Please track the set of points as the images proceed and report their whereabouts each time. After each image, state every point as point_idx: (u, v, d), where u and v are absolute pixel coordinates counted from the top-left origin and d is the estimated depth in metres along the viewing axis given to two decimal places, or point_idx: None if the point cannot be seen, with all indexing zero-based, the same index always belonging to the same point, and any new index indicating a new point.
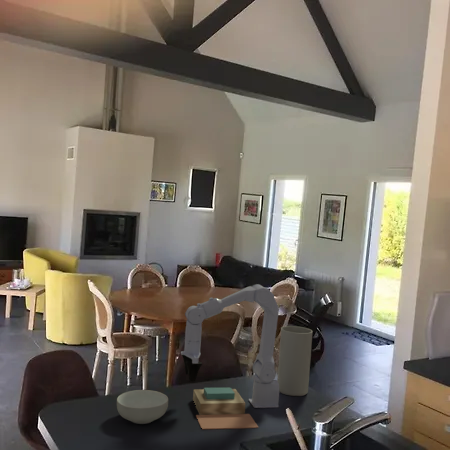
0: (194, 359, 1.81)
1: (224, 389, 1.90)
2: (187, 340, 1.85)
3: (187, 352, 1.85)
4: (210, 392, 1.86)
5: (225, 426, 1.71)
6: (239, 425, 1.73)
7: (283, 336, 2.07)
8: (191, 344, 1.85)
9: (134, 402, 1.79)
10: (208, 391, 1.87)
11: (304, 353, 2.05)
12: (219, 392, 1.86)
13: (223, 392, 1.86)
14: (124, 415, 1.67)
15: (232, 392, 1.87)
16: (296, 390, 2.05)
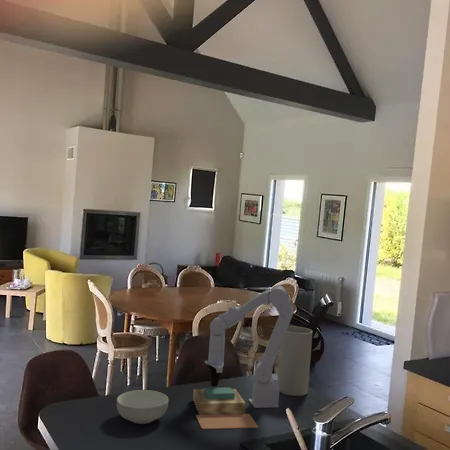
0: (218, 368, 1.89)
1: (224, 389, 1.90)
2: (210, 349, 1.95)
3: (211, 361, 1.94)
4: (210, 392, 1.86)
5: (225, 426, 1.71)
6: (239, 425, 1.73)
7: None
8: (215, 354, 1.93)
9: (134, 402, 1.79)
10: (208, 391, 1.87)
11: (304, 353, 2.05)
12: (219, 392, 1.86)
13: (223, 392, 1.86)
14: (124, 415, 1.67)
15: (232, 392, 1.87)
16: (296, 390, 2.05)
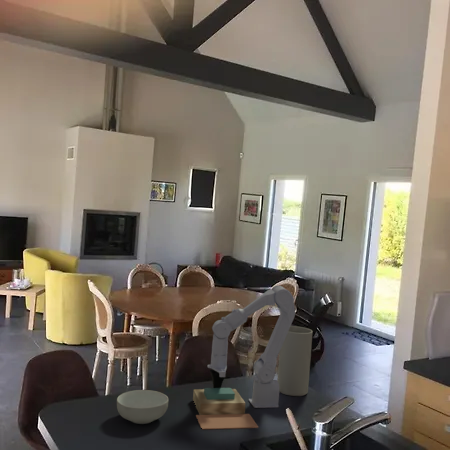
0: (221, 373, 1.85)
1: (224, 389, 1.89)
2: (213, 354, 1.90)
3: (214, 366, 1.89)
4: (210, 392, 1.85)
5: (225, 426, 1.71)
6: (239, 425, 1.73)
7: None
8: (218, 358, 1.89)
9: (134, 402, 1.79)
10: (208, 391, 1.87)
11: (304, 353, 2.05)
12: (219, 392, 1.86)
13: (223, 393, 1.86)
14: (124, 415, 1.67)
15: (232, 392, 1.87)
16: (296, 390, 2.05)
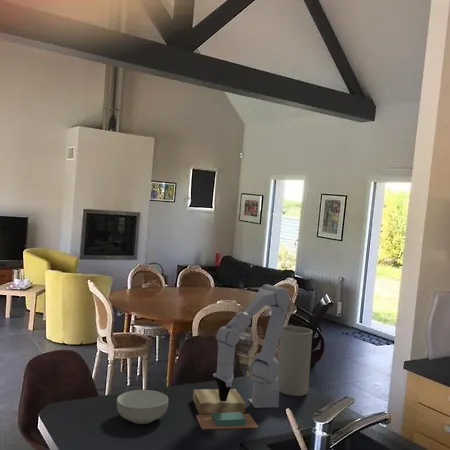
0: (228, 382, 1.75)
1: None
2: (223, 363, 1.79)
3: (220, 374, 1.80)
4: None
5: (225, 426, 1.71)
6: (239, 425, 1.73)
7: (283, 336, 2.07)
8: (224, 367, 1.79)
9: (134, 402, 1.79)
10: None
11: (304, 353, 2.05)
12: None
13: None
14: (124, 415, 1.67)
15: None
16: (296, 390, 2.05)
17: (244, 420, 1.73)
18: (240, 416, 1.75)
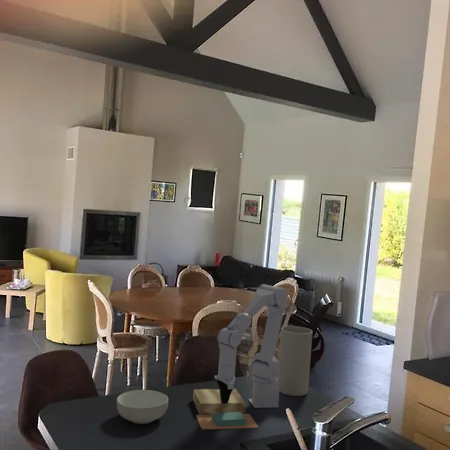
0: (230, 385, 1.73)
1: None
2: (226, 365, 1.77)
3: (221, 377, 1.77)
4: None
5: (225, 426, 1.71)
6: (239, 425, 1.73)
7: (283, 336, 2.07)
8: (226, 369, 1.77)
9: (134, 402, 1.79)
10: None
11: (304, 353, 2.05)
12: None
13: None
14: (124, 415, 1.67)
15: None
16: (296, 390, 2.05)
17: (244, 420, 1.73)
18: (240, 416, 1.75)
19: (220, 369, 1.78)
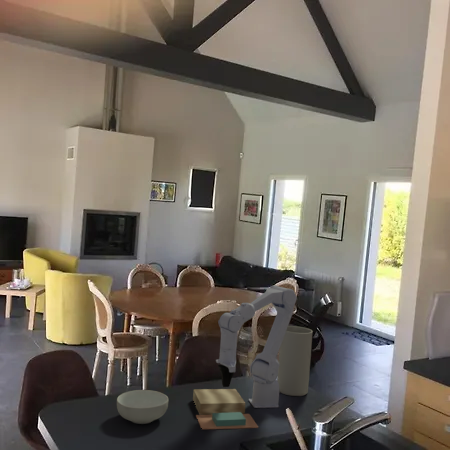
0: (231, 368, 1.76)
1: None
2: (226, 349, 1.80)
3: (223, 360, 1.81)
4: None
5: (225, 426, 1.71)
6: (239, 425, 1.73)
7: None
8: (227, 352, 1.80)
9: (134, 402, 1.79)
10: None
11: (304, 353, 2.05)
12: None
13: None
14: (124, 415, 1.67)
15: None
16: (296, 390, 2.05)
17: (244, 420, 1.73)
18: (240, 416, 1.75)
19: (221, 353, 1.81)
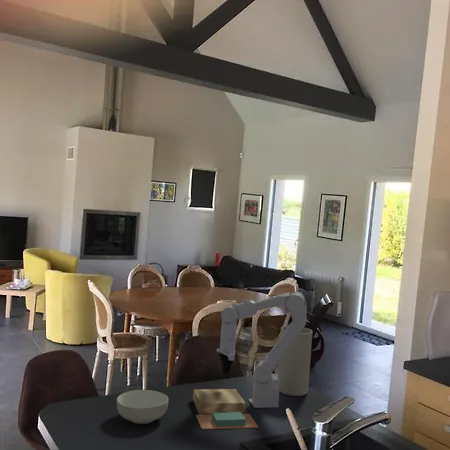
0: (230, 356, 1.90)
1: None
2: (221, 337, 1.95)
3: (223, 349, 1.94)
4: None
5: (225, 426, 1.71)
6: (239, 425, 1.73)
7: None
8: (227, 342, 1.94)
9: (134, 402, 1.79)
10: None
11: (304, 353, 2.05)
12: None
13: None
14: (124, 415, 1.67)
15: None
16: (296, 390, 2.05)
17: (244, 420, 1.73)
18: (240, 416, 1.75)
19: (221, 343, 1.95)
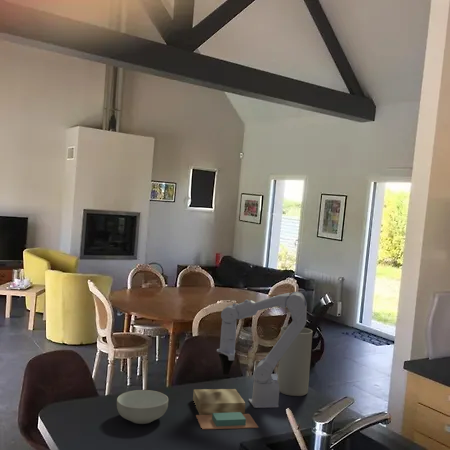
0: (230, 356, 1.90)
1: None
2: (221, 337, 1.95)
3: (223, 349, 1.94)
4: None
5: (225, 426, 1.71)
6: (239, 425, 1.73)
7: None
8: (227, 342, 1.94)
9: (134, 402, 1.79)
10: None
11: (304, 353, 2.05)
12: None
13: None
14: (124, 415, 1.67)
15: None
16: (296, 390, 2.05)
17: (244, 420, 1.73)
18: (240, 416, 1.75)
19: (221, 343, 1.95)
